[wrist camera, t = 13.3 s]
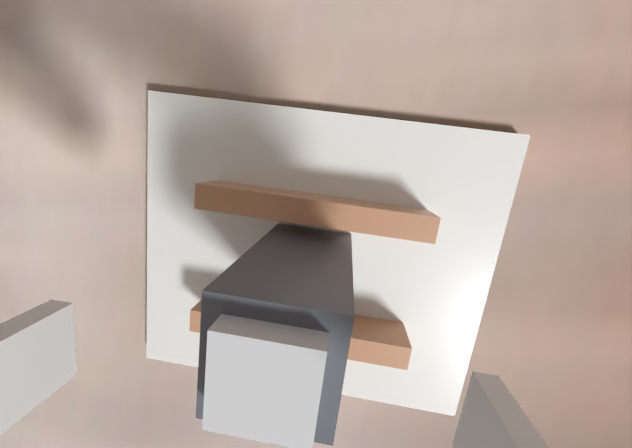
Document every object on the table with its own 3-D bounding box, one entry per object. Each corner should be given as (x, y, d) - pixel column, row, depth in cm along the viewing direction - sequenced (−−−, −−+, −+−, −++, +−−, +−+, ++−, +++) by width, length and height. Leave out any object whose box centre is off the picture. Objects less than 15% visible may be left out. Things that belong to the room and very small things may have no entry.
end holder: (157, 93, 21) (112, 77, 17) (520, 136, 19) (566, 129, 15) (154, 350, 25) (118, 385, 21) (450, 405, 23) (470, 454, 19)
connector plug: (278, 223, 21) (185, 305, 9) (351, 234, 20) (355, 334, 8) (271, 290, 22) (180, 443, 10) (340, 302, 21) (331, 474, 10)
